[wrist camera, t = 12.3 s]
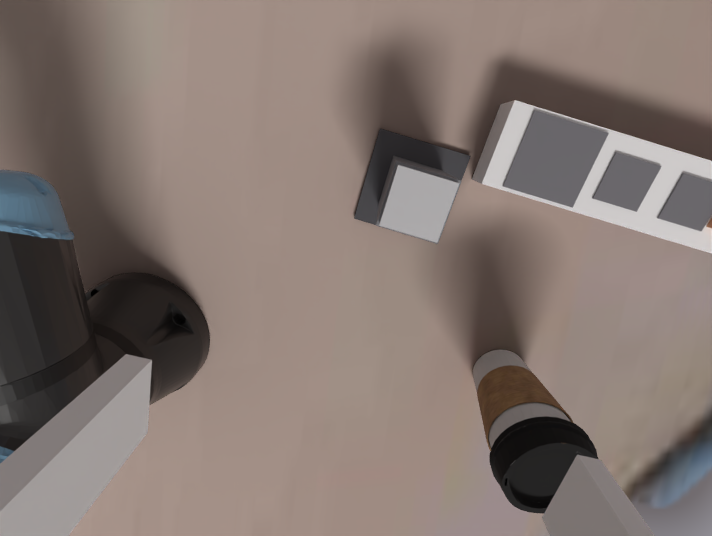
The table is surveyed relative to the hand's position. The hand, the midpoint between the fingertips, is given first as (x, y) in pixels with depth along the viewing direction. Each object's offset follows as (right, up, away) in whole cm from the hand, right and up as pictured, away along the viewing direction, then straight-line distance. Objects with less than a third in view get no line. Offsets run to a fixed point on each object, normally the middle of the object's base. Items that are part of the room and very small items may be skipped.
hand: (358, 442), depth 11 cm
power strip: (+26, +13, +24) cm, 38 cm away
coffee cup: (+16, -7, +32) cm, 37 cm away
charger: (+5, +13, +25) cm, 29 cm away
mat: (+5, +13, +26) cm, 30 cm away
